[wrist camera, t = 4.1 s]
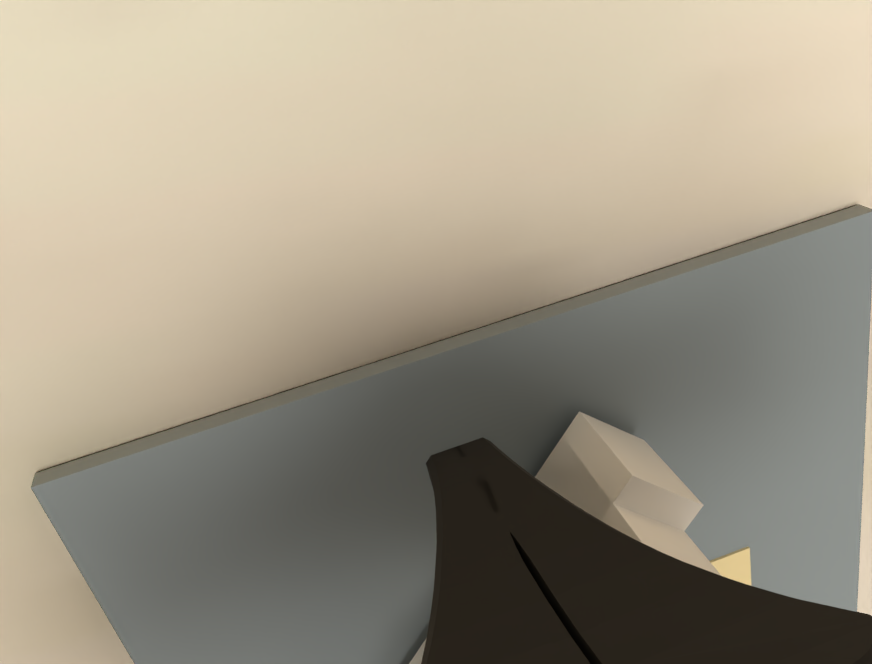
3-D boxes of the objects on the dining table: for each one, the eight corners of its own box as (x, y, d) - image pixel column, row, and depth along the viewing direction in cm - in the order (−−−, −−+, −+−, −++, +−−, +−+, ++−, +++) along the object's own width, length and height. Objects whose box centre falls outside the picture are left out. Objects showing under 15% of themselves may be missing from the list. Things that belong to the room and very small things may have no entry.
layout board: (840, 743, 22) (852, 757, 22) (320, 964, 20) (322, 984, 20) (858, 204, 15) (877, 211, 14) (35, 473, 13) (30, 490, 12)
